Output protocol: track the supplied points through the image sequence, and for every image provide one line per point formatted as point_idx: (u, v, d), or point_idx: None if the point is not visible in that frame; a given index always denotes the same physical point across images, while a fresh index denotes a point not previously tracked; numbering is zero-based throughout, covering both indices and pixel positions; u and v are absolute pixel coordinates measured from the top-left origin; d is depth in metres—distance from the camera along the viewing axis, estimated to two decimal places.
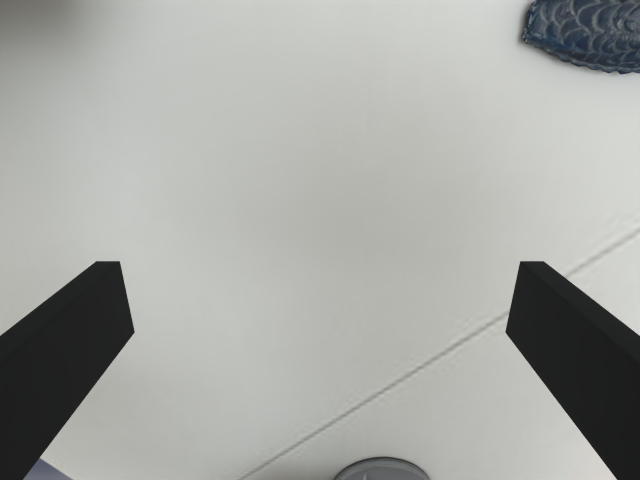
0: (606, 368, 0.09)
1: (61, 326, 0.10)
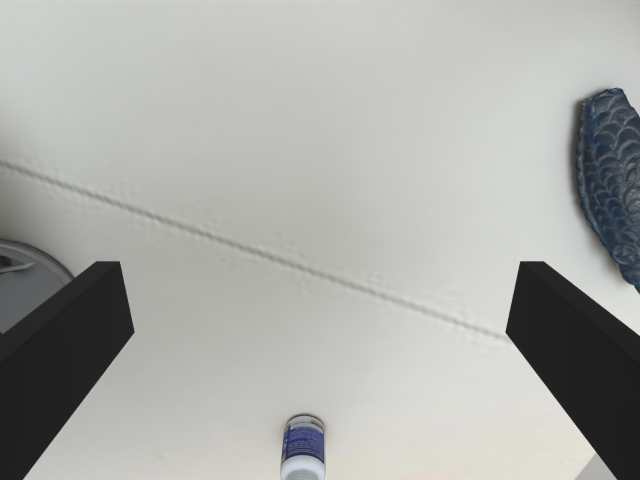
0: (606, 368, 0.09)
1: (61, 326, 0.10)
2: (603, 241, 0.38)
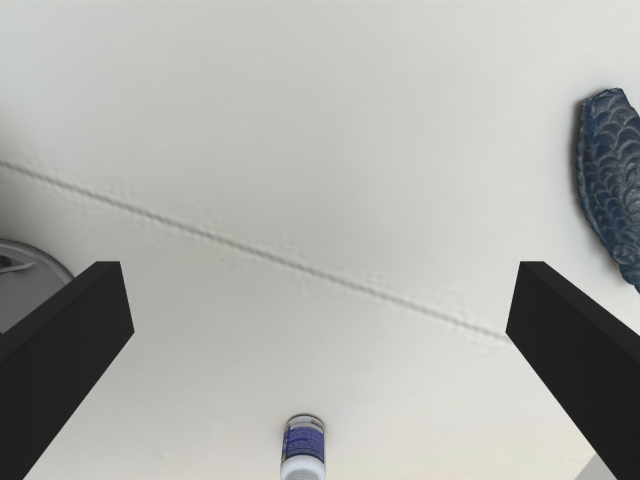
0: (606, 368, 0.09)
1: (61, 326, 0.10)
2: (603, 241, 0.38)
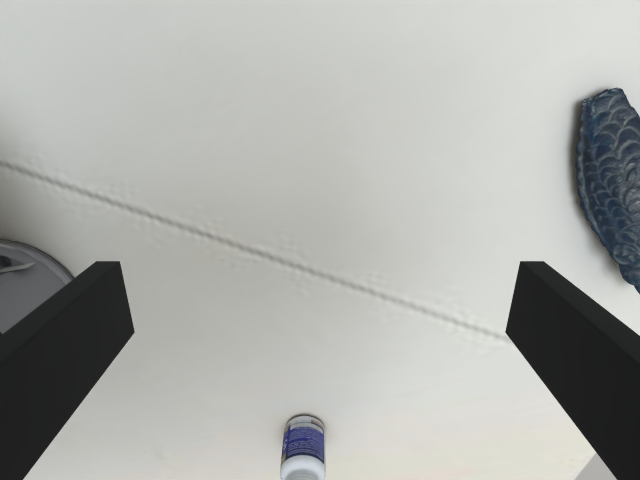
0: (606, 368, 0.09)
1: (61, 326, 0.10)
2: (603, 241, 0.38)
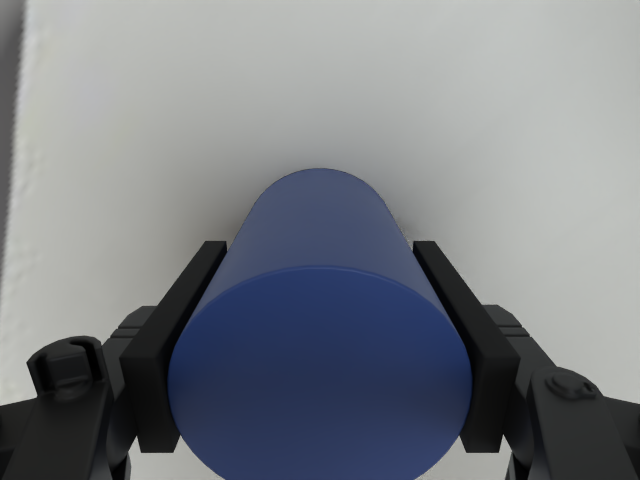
0: None
1: (203, 291, 0.11)
2: None
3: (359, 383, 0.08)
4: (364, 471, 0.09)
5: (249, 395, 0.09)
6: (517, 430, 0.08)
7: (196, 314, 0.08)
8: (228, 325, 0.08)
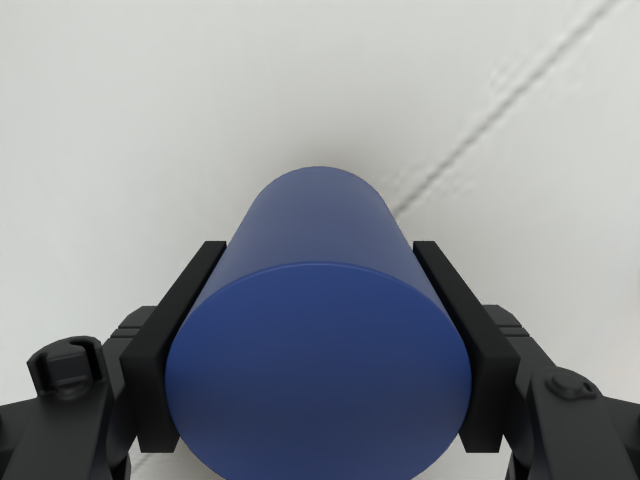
0: None
1: None
2: None
3: (357, 380, 0.08)
4: (362, 469, 0.09)
5: (247, 392, 0.08)
6: (517, 430, 0.08)
7: (193, 311, 0.08)
8: (226, 322, 0.08)
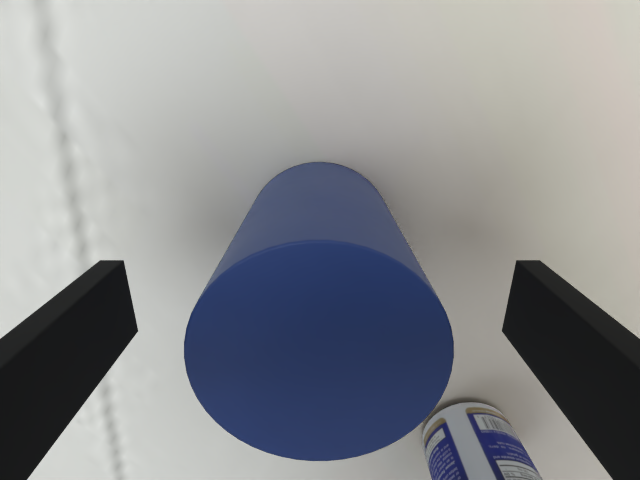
0: (600, 366, 0.09)
1: (66, 324, 0.10)
2: None
3: (353, 346, 0.10)
4: (358, 429, 0.11)
5: (256, 357, 0.10)
6: None
7: (210, 284, 0.09)
8: (239, 294, 0.09)
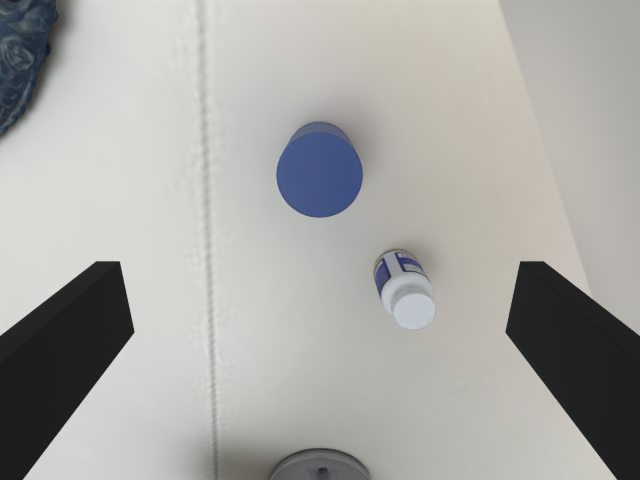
0: (606, 368, 0.09)
1: (61, 326, 0.10)
2: (34, 73, 0.35)
3: (330, 169, 0.30)
4: (332, 203, 0.31)
5: (299, 173, 0.30)
6: None
7: (287, 147, 0.30)
8: (295, 150, 0.30)
